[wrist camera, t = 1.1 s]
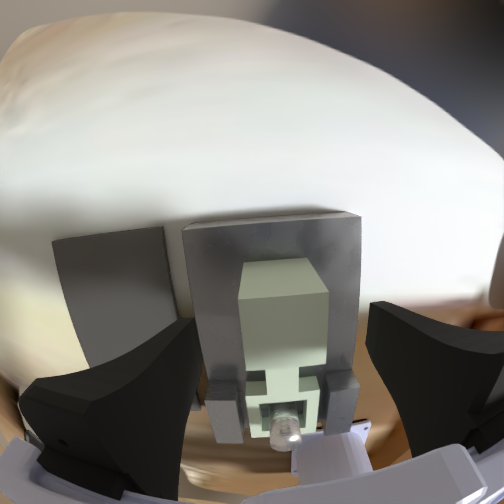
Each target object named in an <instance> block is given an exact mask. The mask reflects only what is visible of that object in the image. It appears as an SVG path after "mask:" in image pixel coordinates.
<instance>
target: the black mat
mask: <svg viewBox="0 0 504 504" xmlns="http://www.w3.org/2000/svg"><path fill="white" fill-rule="evenodd" d="M52 246H53V252H54V256H55V261H56V266H57V270H58V274H59V278H60V282H61V286H62V290H63V293H64V297H65V300H66V304H67V307H68V310H69V313H70V316H71V319H72V322H73V325H74V328H75V331H76V334H77V337H78V339H79V342H80V345H81V347H82V350H83V352H84V355H85V357H86V360H87V362H88V364H89V367H90V368H92V367H95V366H98V365H100V364H103V363H106V362H108V361H111V360H113V359H115V358H117V357H119V356H122V355H124V354H125V353H127V352H129V351H131V350H133V349H134V348H136V347H138V346H139V345H141V344H142V343H144V342H146V341H147V340H149V339H150V338H152V337H153V336H155V335H156V334H157V333H159V332H160V331H162V330H163V329H165V328H166V327H167V326H169V325H170V324H172V323H173V322H175V321H176V320H178V319H179V318H178V313H177V308H176V303H175V298H174V293H173V288H172V282H171V277H170V271H169V265H168V259H167V252H166V246H165V239H164V232H163V226H162V227H153V228H145V229H136V230H128V231H120V232H112V233H105V234H97V235H90V236H83V237H76V238H69V239H62V240H56V241H52ZM190 410H191V411H201V405H200V402H199V399H198V395H197V392H196V393H195V396H194V399H193V403H192V406H191V409H190Z"/></svg>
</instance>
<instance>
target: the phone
mask: <svg viewBox="0 0 504 504" xmlns="http://www.w3.org/2000/svg"><path fill="white" fill-rule="evenodd" d="M24 434H25V441H26V442H28V443H30V444H32V445H34V446H35V447H37V448H38V449H39V450H40V451H41V452H42V451H43V449H44V448H45V445H44V444H43V442H42V441H41V440H40V439H39V438H38V437H37V436H36V435H35V434H33V433H32V432H31V431H30V430H27V431H26V432H25V433H24Z"/></svg>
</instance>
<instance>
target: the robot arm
mask: <svg viewBox="0 0 504 504" xmlns="http://www.w3.org/2000/svg"><path fill="white" fill-rule="evenodd" d="M365 344H366V347H367V350H368V353H369V355H370V358H371V360H372V362H373V364H374V366H375V368H376V370H377V371H378V373H379V375H380V377H381V378H382V380H383V382H384V384H385V385H386V387H387V389H388V391H389V393H390V394H391V396H392V398H393V400H394V402H395V404H396V406H397V409H398V412H399V414H400V417H401V420H402V422H403V425H404V429H405V432H406V435H407V438H408V442H409V446H410V450H411V454H412V459H410V460H407V461H404V462H402V463H398V464H395V465H392V466H389V467H386V468H382V469H379V470H376V471H373V469H372V467H371V464H370V461H369V458H368V455H367V452H366V449H365V446H364V444H365V441H366V438H367V436H368V433H369V430H370V427H371V421H370V420H366V421H361V422H357V423H352V426H351V429H350V432H347V433H341V434H336V435H330V436H324V433H323V429H318V430H316V432H314V433H306V434H301V438H302V444H301V445H300V446H299V447H298V448H296V449H294V450H292V457H291V475H292V476H298V479H299V486H294V487H289V488H284V489H278V490H271V491H266V492H263V493H261V494H258V495H256V496H253V497H250V498H247V499H245V500H244V501H242V502H240V503H239V504H496V503H498V502H499V501H500V500H502V499H503V498H504V332H503V331H482V330H475V329H468V328H462V327H458V326H454V325H450V324H446V323H442V322H439V321H436V320H433V319H430V318H428V317H425V316H422V315H420V314H417V313H415V312H412V311H410V310H407V309H405V308H402V307H400V306H397V305H394V304H392V303H389V302H385V301H379V302H372V303H370V308H369V318H368V327H367V335H366V342H365ZM202 361H203V357H202V352H201V347H200V343H199V338H198V333H197V328H196V323H195V318H180V319H178V320H176V321H175V322H173V323H172V324H170V325H169V326H167V327H166V328H165V329H163V330H162V331H160V332H159V333H157V334H156V335H155V336H153V337H152V338H150V339H149V340H147V341H146V342H144V343H142V344H141V345H139V346H138V347H136V348H134V349H133V350H131V351H129V352H127V353H125V354H124V355H122V356H119V357H117V358H115V359H113V360H111V361H108V362H106V363H103V364H100V365H98V366H95V367H92V368H89V369H86V370H83V371H79V372H75V373H71V374H66V375H60V376H53V377H45V378H37V379H35V380H34V382H33V383H32V384H31V385H30V386H29V387H28V388H27V389H26V390H25V391H24V393H23V394H22V395H21V396H20V398H19V400H18V401H19V407H20V410H21V413H22V415H23V416H24V418H25V419H26V421H27V422H28V424H29V425H30V427H31V428H32V429H33V430H34V432H35V433H36V435H37V436H38V437H39V439H40V440H41V441H42V442H43V444H44V445H45V448H44V449H43V451H42V452H41V451H40V450H39V449H38V448H37V447H35V446H34V445H32V444H30V443H28V442H26V441H24V440H23V439H21V438H19V437H17V436H15V437H14V438H13V439H12V441H11V442H10V444H9V445H8V446H7V448H6V449H5V451H4V452H3V453H2V455H1V456H0V491H1V492H2V493H3V494H4V495H5V496H6V497H8V498H9V499H10V500H11V501H12V502H14V503H15V504H195V503H186V502H179V501H178V485H179V472H180V462H181V454H182V446H183V439H184V433H185V427H186V423H187V419H188V416H189V412H190V409H191V406H192V403H193V399H194V396H195V393H196V390H197V386H198V383H199V380H200V375H201V368H202Z"/></svg>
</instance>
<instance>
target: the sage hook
mask: <svg viewBox="0 0 504 504" xmlns="http://www.w3.org/2000/svg"><path fill="white" fill-rule="evenodd" d="M238 306H239V315H240V323H241V332H242V340H243V348H244V357H245V365H246V371H256V370H265V372H266V381H251V382H246V393H245V397H246V404H247V411H248V417H249V424H250V430H251V437H252V438H258V437H270V430H269V417H261V407H260V404H263V403H278V402H289V401H299V400H304V406H303V414H298V419H299V425H300V432H301V434H306V433H314V432H316V425H317V415H318V406H319V395H320V388H319V385H318V381H317V377H316V376H310V377H302V378H299V367H304V366H312V365H320V364H326V353H327V335H328V311H329V291H328V289H327V288H326V286H325V285H324V283H323V282H322V280H321V279H320V277H319V275H318V274H317V272H316V271H315V269H314V268H313V266H312V265H311V263H310V262H309V260H308V258H294V259H282V260H269V261H256V262H244V264H243V270H242V276H241V282H240V289H239V295H238Z"/></svg>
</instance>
